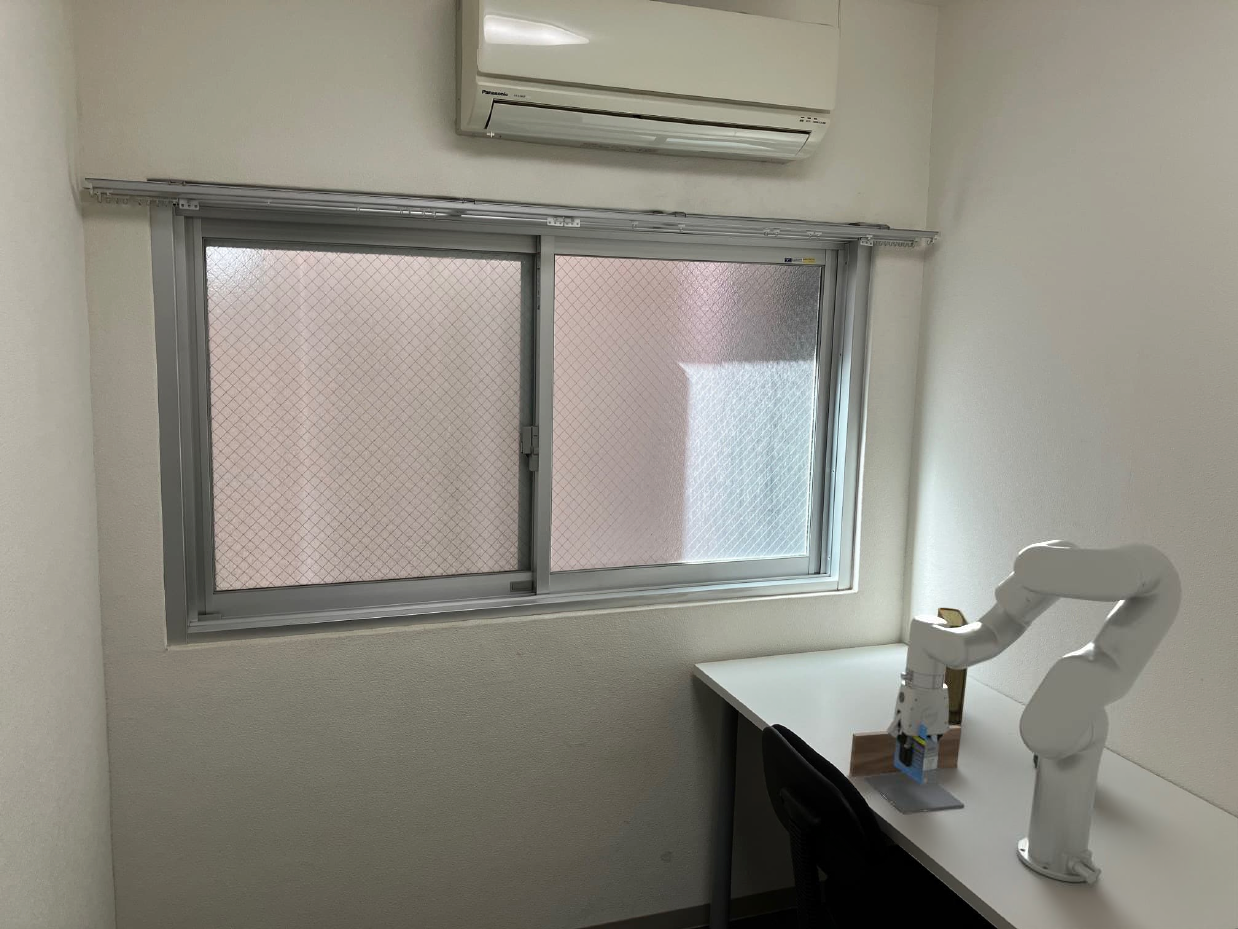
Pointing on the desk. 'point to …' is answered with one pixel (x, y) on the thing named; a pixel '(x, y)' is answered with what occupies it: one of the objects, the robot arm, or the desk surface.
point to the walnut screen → (879, 750)
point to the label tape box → (920, 758)
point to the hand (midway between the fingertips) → (915, 762)
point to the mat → (912, 793)
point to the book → (954, 677)
